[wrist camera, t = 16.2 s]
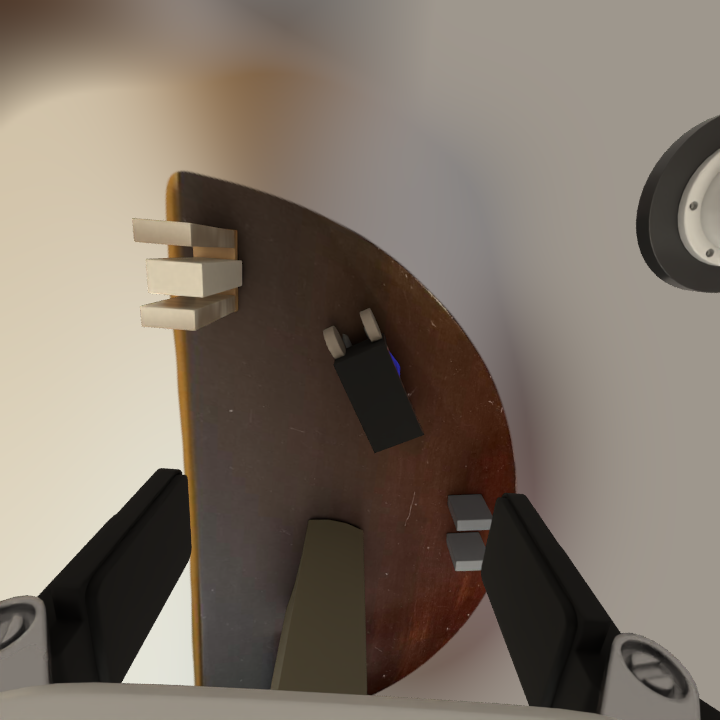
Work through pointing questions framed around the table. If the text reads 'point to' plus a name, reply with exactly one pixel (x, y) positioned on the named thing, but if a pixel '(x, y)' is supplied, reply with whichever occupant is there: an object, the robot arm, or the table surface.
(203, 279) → the beige rectangular block
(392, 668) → the table surface
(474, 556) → the grey rectangular blocks
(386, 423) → the figurine character
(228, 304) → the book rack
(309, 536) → the book
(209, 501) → the table surface
